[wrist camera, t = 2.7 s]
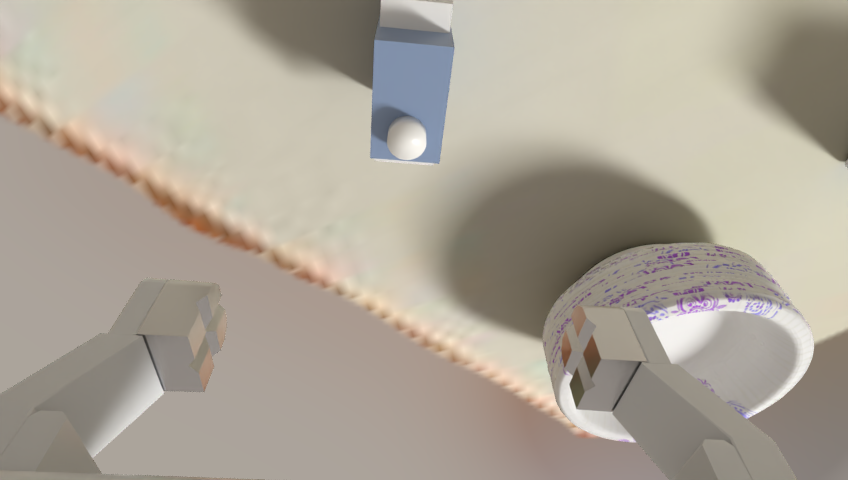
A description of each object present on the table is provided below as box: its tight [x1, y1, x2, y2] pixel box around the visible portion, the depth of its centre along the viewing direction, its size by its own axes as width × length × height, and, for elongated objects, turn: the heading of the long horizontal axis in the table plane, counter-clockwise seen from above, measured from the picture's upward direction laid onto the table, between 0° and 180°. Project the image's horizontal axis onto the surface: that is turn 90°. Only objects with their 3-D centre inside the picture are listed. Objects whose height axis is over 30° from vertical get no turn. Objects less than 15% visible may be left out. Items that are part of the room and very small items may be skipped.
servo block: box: [370, 0, 454, 165], centre depth 23 cm, size 7×3×8 cm, turn 175°
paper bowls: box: [543, 242, 814, 442], centre depth 34 cm, size 15×15×8 cm
